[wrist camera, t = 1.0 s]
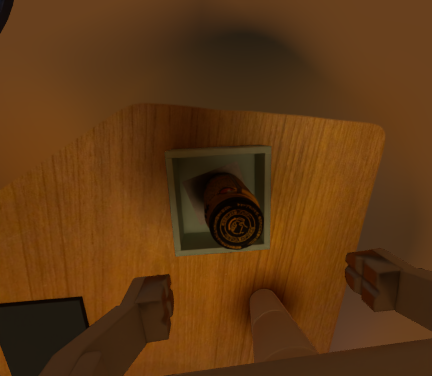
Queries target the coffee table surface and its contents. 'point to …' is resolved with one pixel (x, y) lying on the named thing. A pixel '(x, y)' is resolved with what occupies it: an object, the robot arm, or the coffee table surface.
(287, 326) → the cup
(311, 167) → the coffee table surface
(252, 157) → the tray
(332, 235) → the coffee table surface
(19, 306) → the mat
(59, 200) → the coffee table surface
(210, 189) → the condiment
